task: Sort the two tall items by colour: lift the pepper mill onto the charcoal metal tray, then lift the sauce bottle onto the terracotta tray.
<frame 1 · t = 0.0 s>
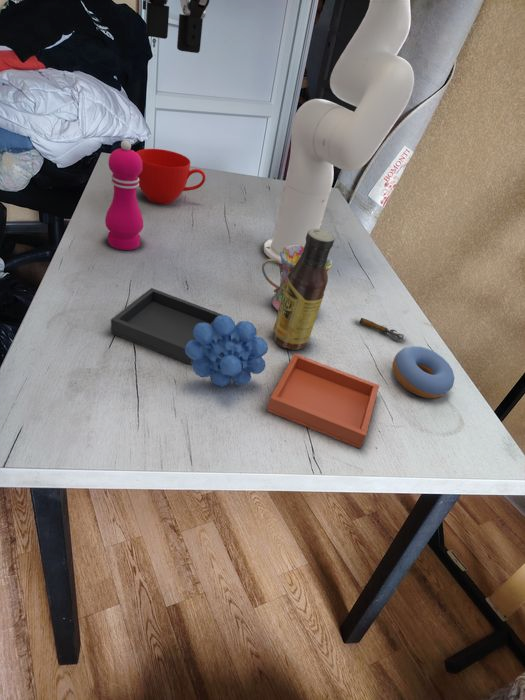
hand: (171, 44, 67), 37 cm above the table, tool pointing down, fingers open, 9 cm apart
charcoal tray: (168, 330, 77), on the table
mug: (285, 308, 89), on the table
ceramic cup: (168, 200, 119), on the table
doughnut: (417, 382, 79), on the table
terracotta tray: (322, 403, 70), on the table
pepper mill: (124, 244, 97), on the table
blue knobbed flower: (222, 390, 68), on the table
can opener: (380, 332, 89), on the table
sauce bottle: (289, 342, 81), on the table
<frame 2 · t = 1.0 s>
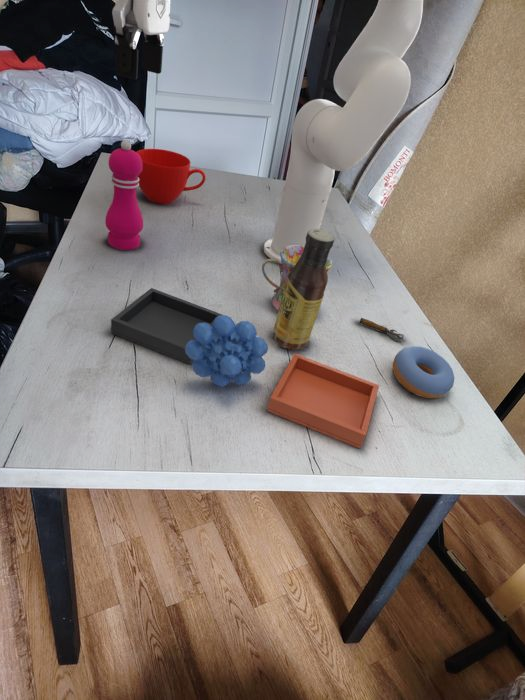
hand: (139, 74, 76), 32 cm above the table, tool pointing down, fingers open, 9 cm apart
nothing on the table moved.
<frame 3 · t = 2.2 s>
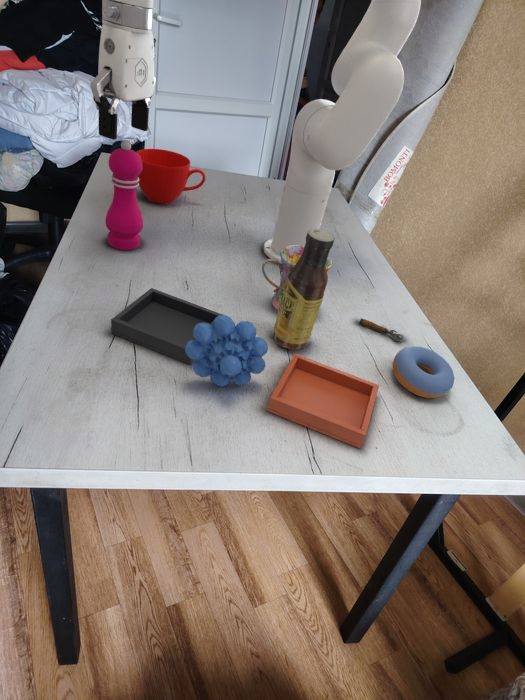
hand: (124, 132, 84), 21 cm above the table, tool pointing down, fingers open, 9 cm apart
nothing on the table moved.
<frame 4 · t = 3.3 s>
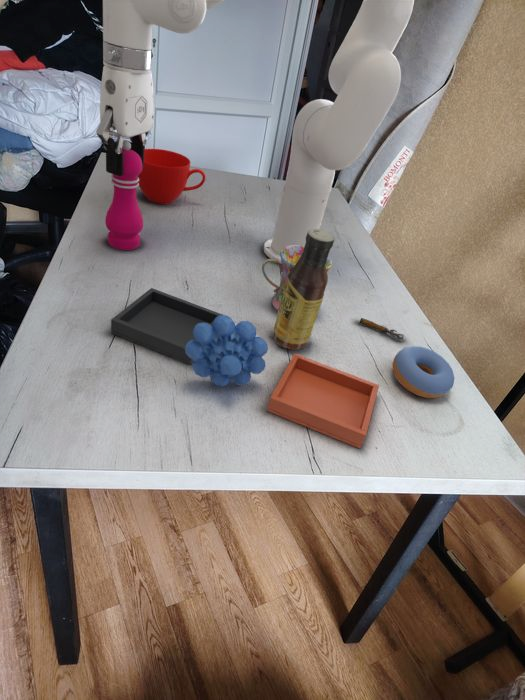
hand: (125, 168, 88), 15 cm above the table, tool pointing down, fingers closed on pepper mill, 6 cm apart
pepper mill: (124, 244, 97), on the table, touching gripper
everything else where it was.
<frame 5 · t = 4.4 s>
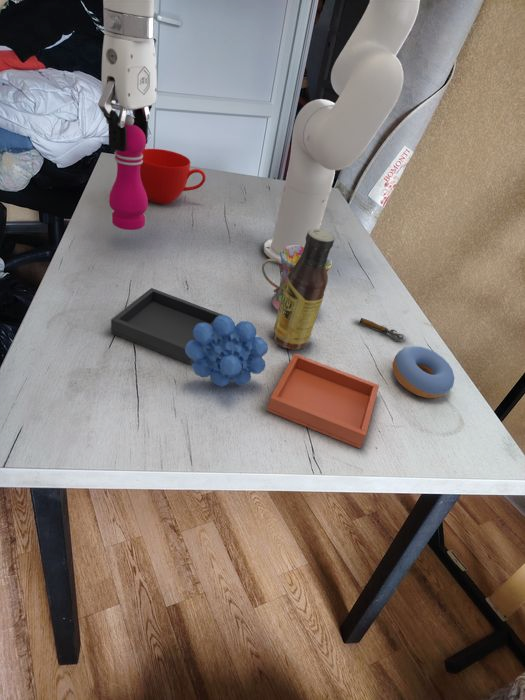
hand: (128, 144, 86), 19 cm above the table, tool pointing down, fingers closed on pepper mill, 6 cm apart
pepper mill: (128, 224, 95), point 4 cm above the table, touching gripper
everything else where it was.
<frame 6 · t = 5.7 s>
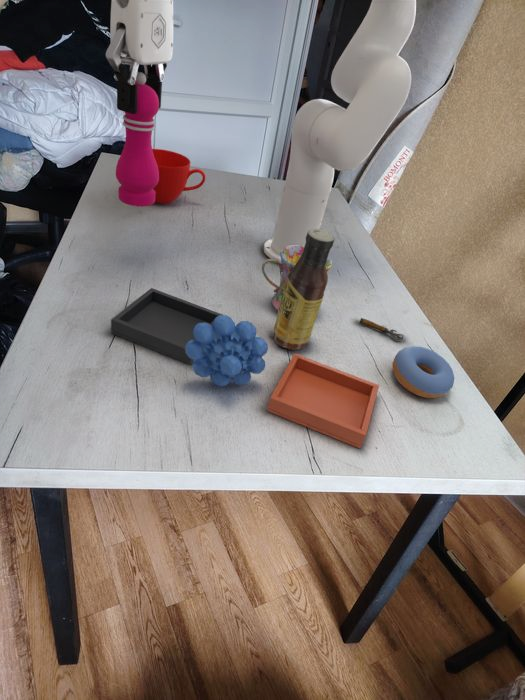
hand: (139, 108, 76), 27 cm above the table, tool pointing down, fingers closed on pepper mill, 6 cm apart
pepper mill: (136, 200, 85), point 12 cm above the table, touching gripper
everything else where it was.
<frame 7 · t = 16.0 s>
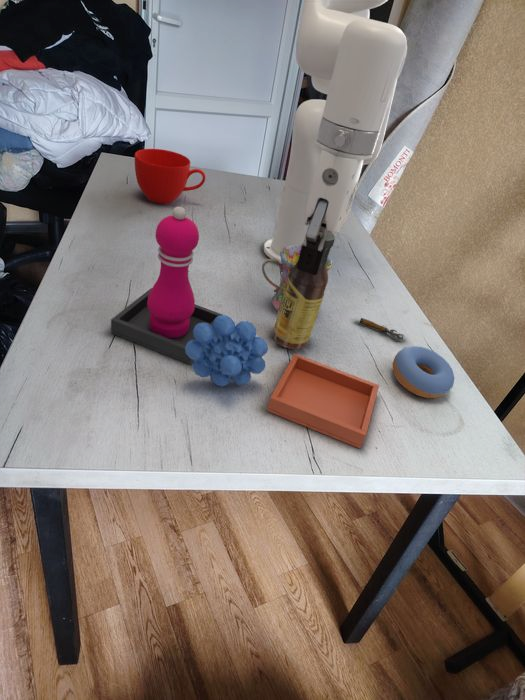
hand: (311, 263, 72), 15 cm above the table, tool pointing down, fingers closed on sauce bottle, 4 cm apart
pepper mill: (169, 327, 77), resting on charcoal tray
sauce bottle: (289, 342, 81), on the table, touching gripper
everything else where it was.
when the fingers open (16 cm above the table, at t = 23.4 s): sauce bottle stays where it is, resting on terracotta tray.
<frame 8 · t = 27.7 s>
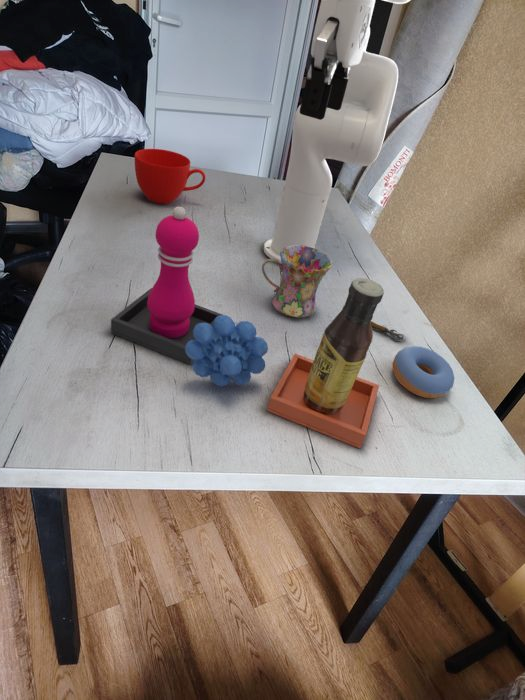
hand: (320, 111, 64), 34 cm above the table, tool pointing down, fingers open, 9 cm apart
sauce bottle: (322, 403, 69), resting on terracotta tray
everything else where it was.
at the end: pepper mill inside the target area in the charcoal tray (0.1 cm from its centre), point 0.4 cm above the charcoal tray's base; sauce bottle inside the target area in the terracotta tray (0.4 cm from its centre), point 0.4 cm above the terracotta tray's base; sauce bottle tilted 0° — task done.
